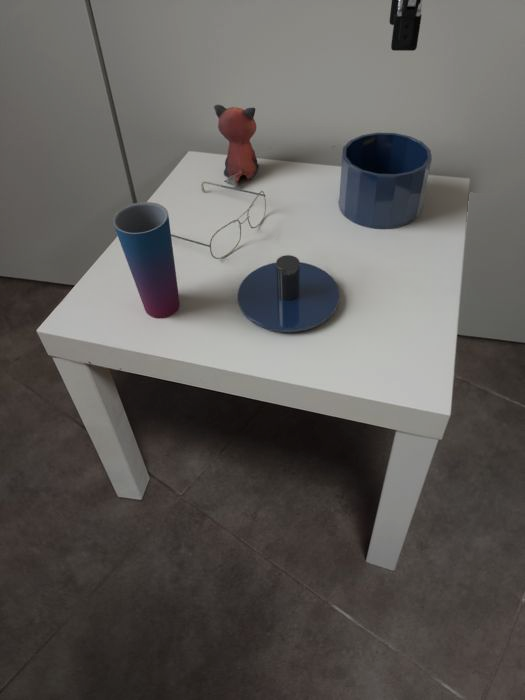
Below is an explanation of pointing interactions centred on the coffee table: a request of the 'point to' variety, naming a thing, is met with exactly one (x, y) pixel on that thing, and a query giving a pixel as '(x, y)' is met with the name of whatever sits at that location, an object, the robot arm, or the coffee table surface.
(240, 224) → the eyeglasses
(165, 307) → the cup
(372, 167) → the pot
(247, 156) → the stuffed fox
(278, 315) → the lid
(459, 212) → the coffee table surface
